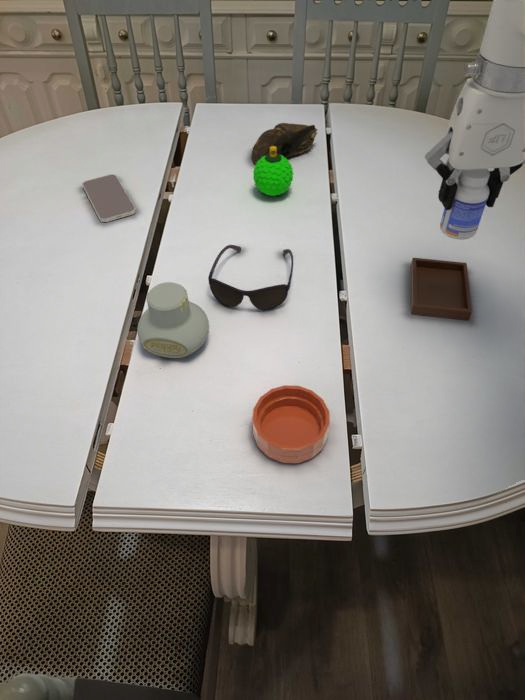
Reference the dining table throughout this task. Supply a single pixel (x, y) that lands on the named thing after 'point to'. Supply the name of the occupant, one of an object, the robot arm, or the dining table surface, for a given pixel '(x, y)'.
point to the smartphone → (108, 198)
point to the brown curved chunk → (284, 140)
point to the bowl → (290, 424)
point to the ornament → (273, 173)
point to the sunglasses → (259, 298)
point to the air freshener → (172, 322)
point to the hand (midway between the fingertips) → (466, 202)
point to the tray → (440, 289)
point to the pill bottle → (466, 205)
